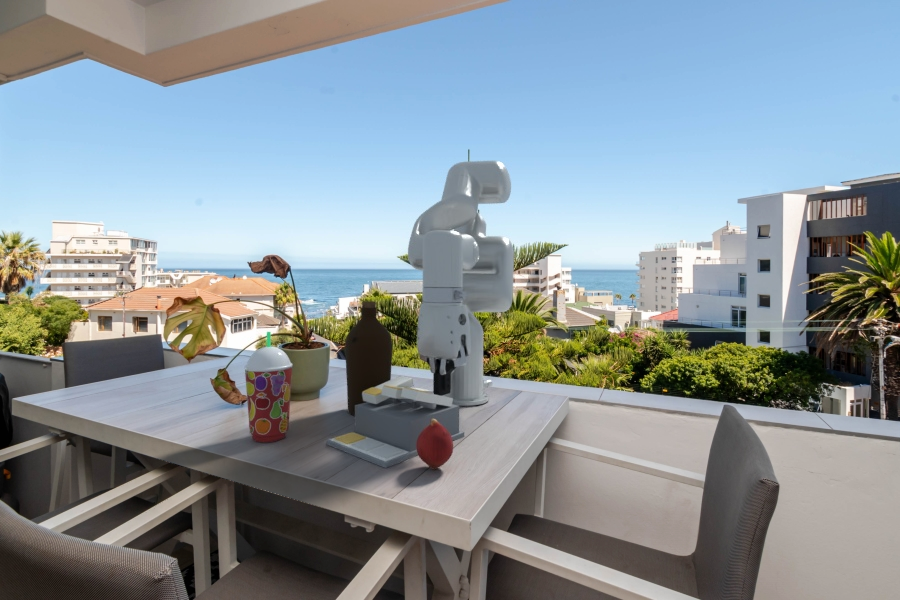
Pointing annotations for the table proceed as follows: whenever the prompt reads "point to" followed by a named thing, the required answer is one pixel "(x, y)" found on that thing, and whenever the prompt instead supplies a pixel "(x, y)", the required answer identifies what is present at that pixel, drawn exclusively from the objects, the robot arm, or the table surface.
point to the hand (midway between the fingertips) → (442, 393)
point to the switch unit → (393, 430)
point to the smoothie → (268, 392)
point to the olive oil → (367, 355)
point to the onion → (434, 445)
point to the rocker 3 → (426, 398)
